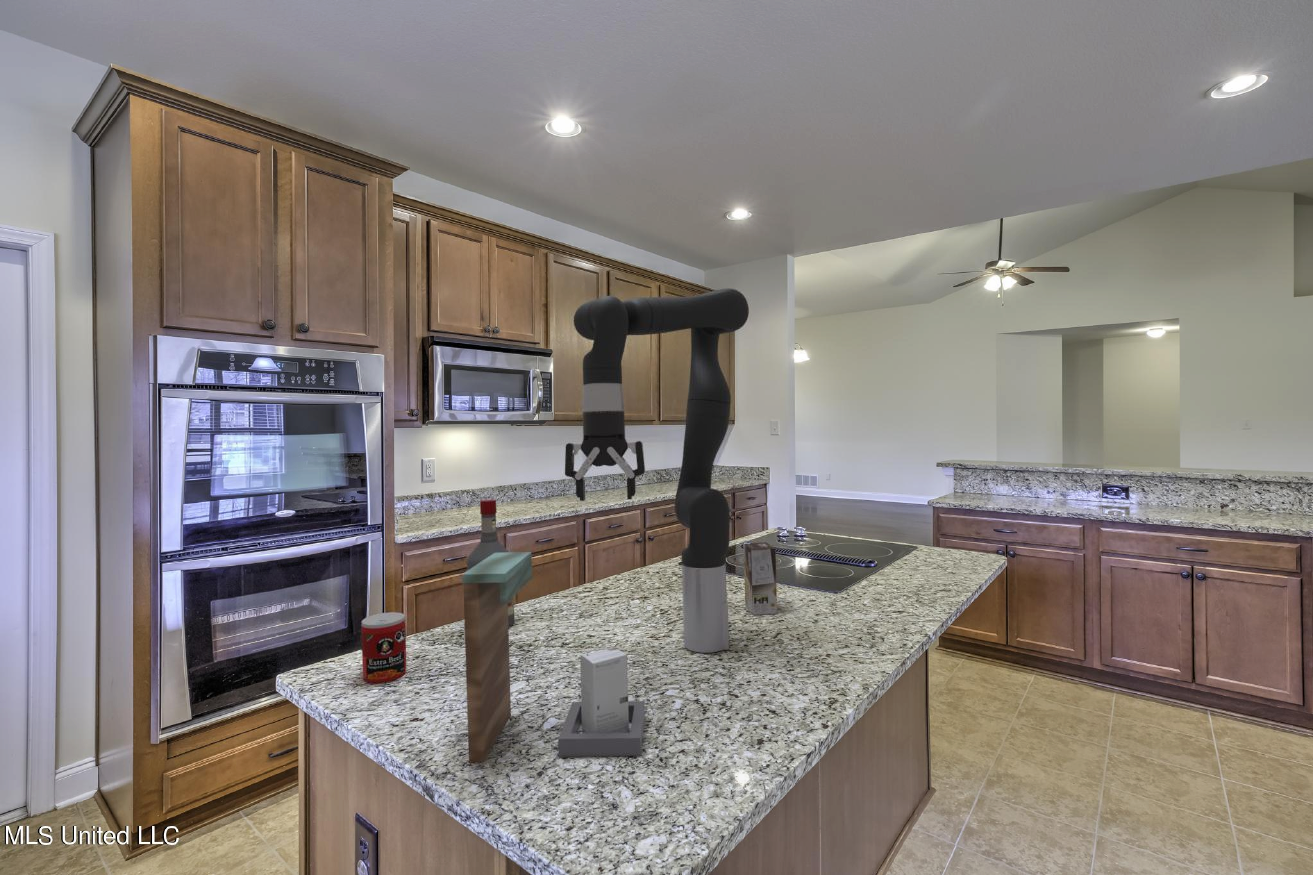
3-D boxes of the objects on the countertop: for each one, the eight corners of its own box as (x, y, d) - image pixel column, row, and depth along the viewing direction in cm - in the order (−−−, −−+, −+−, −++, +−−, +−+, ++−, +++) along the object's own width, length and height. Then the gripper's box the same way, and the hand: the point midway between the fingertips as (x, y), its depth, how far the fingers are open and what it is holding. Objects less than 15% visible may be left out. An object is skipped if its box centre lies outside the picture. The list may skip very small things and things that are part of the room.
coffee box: (778, 614, 146) (776, 548, 146) (752, 615, 145) (750, 549, 145) (768, 603, 155) (766, 541, 155) (744, 604, 155) (742, 542, 154)
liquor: (463, 631, 140) (459, 502, 139) (487, 619, 148) (484, 498, 148) (496, 634, 136) (492, 503, 136) (519, 622, 145) (515, 498, 145)
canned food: (363, 687, 109) (361, 627, 109) (362, 672, 116) (360, 616, 116) (408, 678, 113) (406, 620, 113) (404, 664, 120) (403, 609, 120)
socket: (645, 716, 95) (644, 700, 95) (640, 755, 83) (640, 737, 83) (572, 717, 95) (572, 701, 95) (558, 756, 84) (558, 738, 84)
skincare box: (594, 748, 86) (591, 663, 86) (580, 735, 90) (578, 654, 89) (631, 735, 89) (628, 654, 89) (616, 723, 93) (614, 645, 93)
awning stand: (536, 713, 97) (531, 551, 97) (510, 764, 82) (505, 573, 82) (499, 713, 97) (494, 552, 97) (467, 764, 82) (461, 574, 82)
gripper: (643, 409, 112) (646, 496, 112) (567, 411, 112) (570, 498, 112) (641, 407, 104) (644, 501, 104) (560, 410, 104) (562, 503, 105)
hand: (606, 499), depth 108 cm, fingers open, 8 cm apart
